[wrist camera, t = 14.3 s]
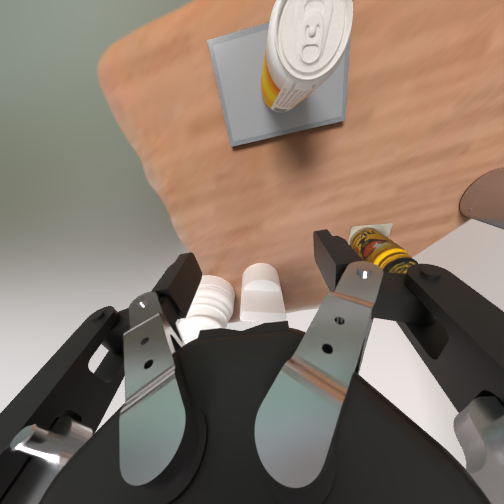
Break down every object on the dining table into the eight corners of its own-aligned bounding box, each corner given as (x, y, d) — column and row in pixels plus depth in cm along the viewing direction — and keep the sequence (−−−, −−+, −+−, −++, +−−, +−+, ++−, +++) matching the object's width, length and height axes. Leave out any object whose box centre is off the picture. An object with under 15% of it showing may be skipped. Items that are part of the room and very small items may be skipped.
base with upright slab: (241, 289, 47) (239, 330, 37) (243, 261, 42) (240, 299, 32) (275, 291, 47) (282, 332, 37) (280, 264, 43) (290, 302, 33)
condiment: (350, 226, 38) (387, 257, 27) (392, 222, 37) (445, 253, 27) (345, 255, 42) (375, 292, 31) (382, 252, 41) (425, 288, 31)
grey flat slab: (348, 3, 22) (353, -4, 21) (341, 121, 28) (345, 120, 27) (209, 44, 24) (207, 40, 23) (231, 146, 30) (230, 146, 29)
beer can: (306, 53, 23) (371, -52, 11) (301, 112, 27) (347, 84, 14) (260, 56, 24) (269, -45, 11) (260, 114, 27) (268, 88, 14)
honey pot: (226, 271, 44) (213, 340, 29) (240, 306, 50) (235, 377, 35) (178, 280, 45) (141, 350, 30) (197, 313, 52) (175, 384, 37)
